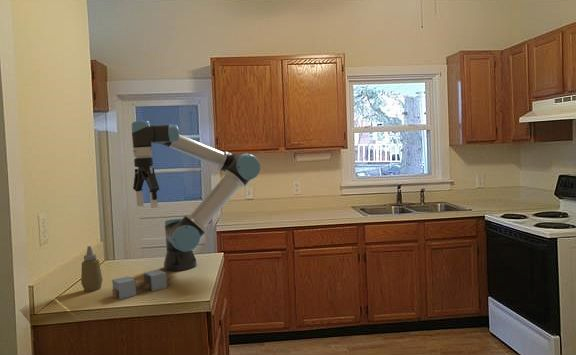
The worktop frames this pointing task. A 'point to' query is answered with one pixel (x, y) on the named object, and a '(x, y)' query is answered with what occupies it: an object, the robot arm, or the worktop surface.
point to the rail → (139, 288)
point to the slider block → (125, 286)
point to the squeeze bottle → (91, 272)
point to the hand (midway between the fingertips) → (147, 206)
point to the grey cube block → (156, 279)
